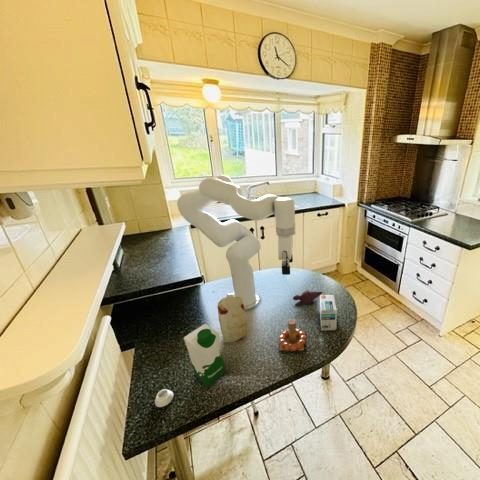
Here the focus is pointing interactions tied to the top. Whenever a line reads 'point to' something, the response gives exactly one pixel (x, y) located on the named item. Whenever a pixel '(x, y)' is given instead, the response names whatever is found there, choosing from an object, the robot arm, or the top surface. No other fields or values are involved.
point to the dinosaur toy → (306, 297)
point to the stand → (292, 334)
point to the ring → (292, 346)
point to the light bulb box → (328, 312)
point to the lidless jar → (163, 398)
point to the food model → (232, 318)
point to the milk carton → (205, 354)
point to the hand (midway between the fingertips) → (287, 267)
